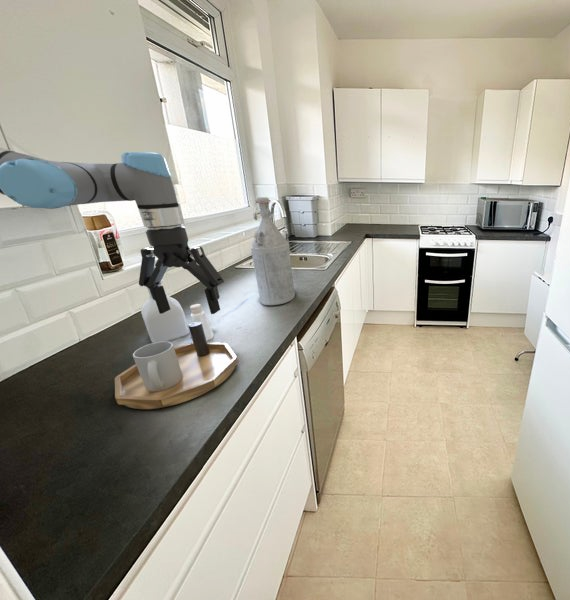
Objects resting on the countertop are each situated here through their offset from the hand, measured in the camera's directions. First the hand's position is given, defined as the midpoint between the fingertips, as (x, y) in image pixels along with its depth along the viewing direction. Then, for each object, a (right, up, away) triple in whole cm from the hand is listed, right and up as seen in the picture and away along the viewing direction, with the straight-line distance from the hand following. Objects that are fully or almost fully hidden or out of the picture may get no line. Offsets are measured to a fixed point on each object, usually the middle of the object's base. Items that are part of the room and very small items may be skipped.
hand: (190, 311), depth 79 cm
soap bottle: (-18, -9, +18) cm, 27 cm away
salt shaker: (-7, -9, +17) cm, 21 cm away
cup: (-1, -17, -8) cm, 19 cm away
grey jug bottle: (+4, +3, +47) cm, 47 cm away
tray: (-1, -16, -2) cm, 16 cm away
